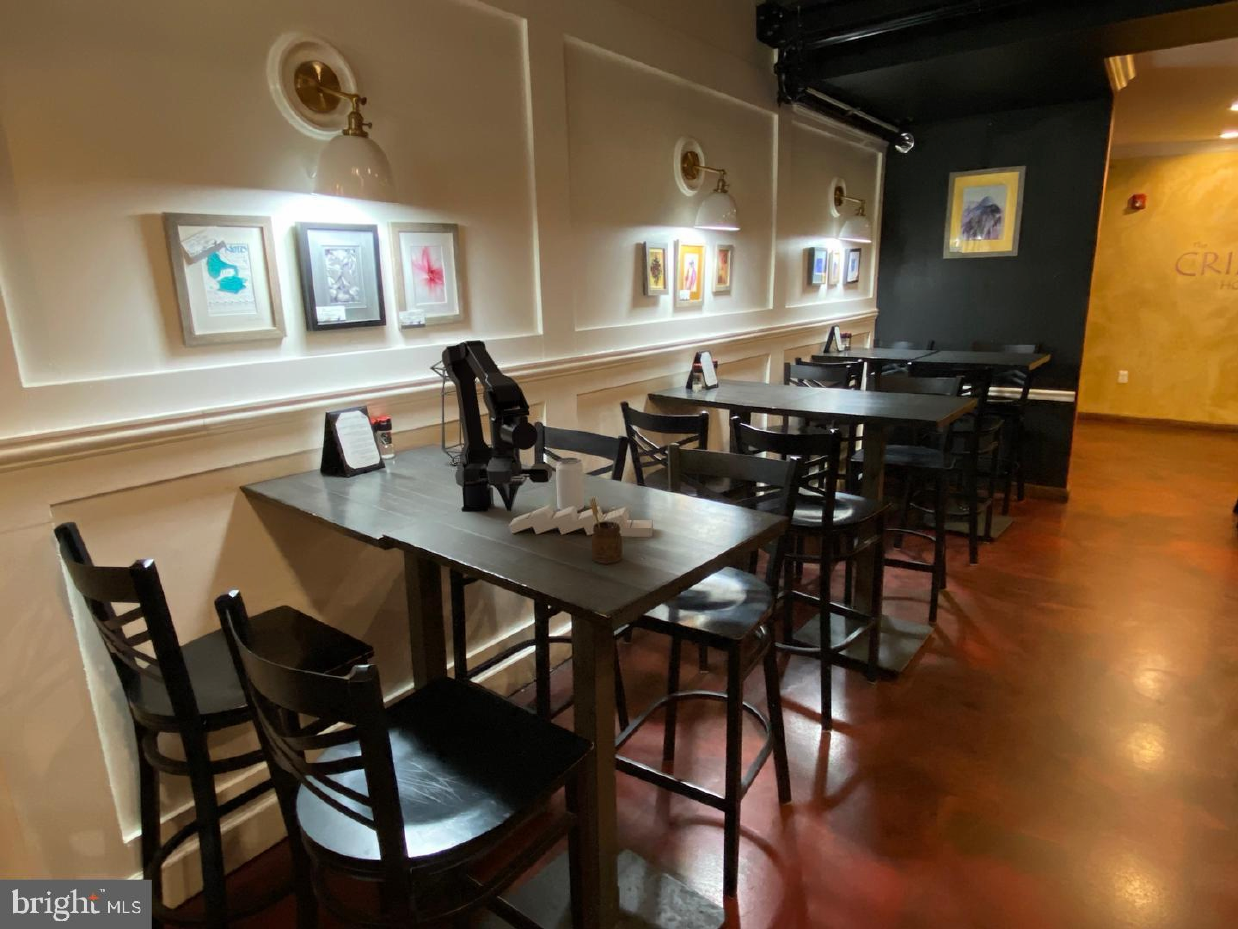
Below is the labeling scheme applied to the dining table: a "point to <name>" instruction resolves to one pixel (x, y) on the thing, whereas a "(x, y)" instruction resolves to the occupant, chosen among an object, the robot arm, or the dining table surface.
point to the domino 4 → (620, 520)
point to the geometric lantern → (459, 414)
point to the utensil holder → (606, 539)
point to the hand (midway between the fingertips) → (509, 510)
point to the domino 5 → (637, 528)
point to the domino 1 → (531, 519)
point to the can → (570, 483)
